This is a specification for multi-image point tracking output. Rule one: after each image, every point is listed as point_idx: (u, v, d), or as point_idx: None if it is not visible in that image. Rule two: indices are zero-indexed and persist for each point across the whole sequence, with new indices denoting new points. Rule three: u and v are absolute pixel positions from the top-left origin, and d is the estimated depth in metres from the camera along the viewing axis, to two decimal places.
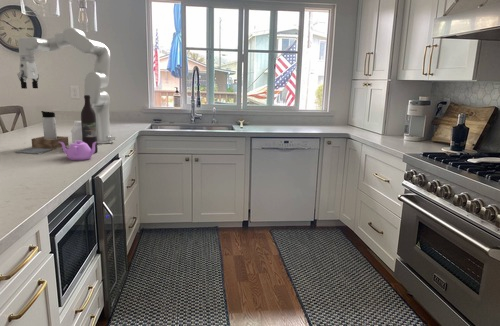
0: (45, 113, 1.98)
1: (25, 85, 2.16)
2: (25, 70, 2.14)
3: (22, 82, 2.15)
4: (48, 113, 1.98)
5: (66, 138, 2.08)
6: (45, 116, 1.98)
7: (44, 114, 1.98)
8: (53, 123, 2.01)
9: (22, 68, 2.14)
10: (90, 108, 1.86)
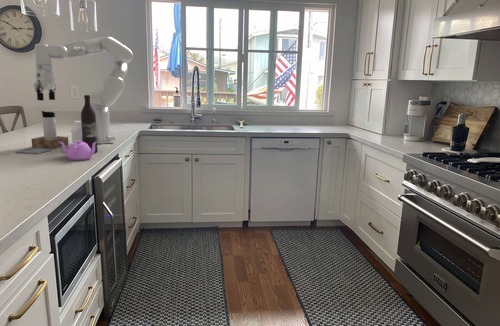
0: (45, 113, 1.98)
1: (42, 97, 1.94)
2: (42, 80, 1.92)
3: (38, 93, 1.93)
4: (48, 113, 1.98)
5: (66, 138, 2.08)
6: (45, 116, 1.98)
7: (44, 114, 1.98)
8: (53, 123, 2.01)
9: (39, 78, 1.92)
10: (90, 108, 1.86)
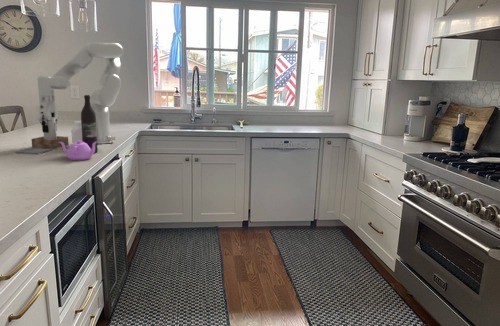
0: None
1: (47, 129, 1.99)
2: (45, 112, 1.96)
3: (44, 126, 1.98)
4: None
5: (66, 138, 2.08)
6: None
7: None
8: (53, 123, 2.01)
9: (42, 109, 1.96)
10: (90, 108, 1.86)
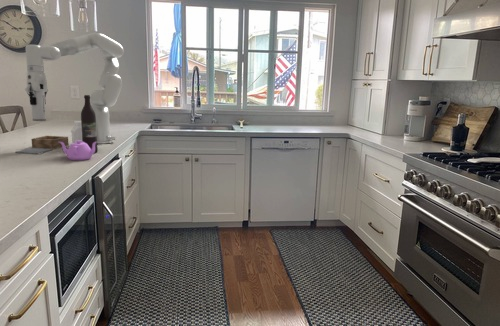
0: None
1: (34, 101, 1.88)
2: (33, 82, 1.85)
3: (31, 98, 1.87)
4: None
5: (66, 138, 2.08)
6: None
7: None
8: (41, 96, 1.90)
9: (30, 80, 1.84)
10: (90, 108, 1.86)
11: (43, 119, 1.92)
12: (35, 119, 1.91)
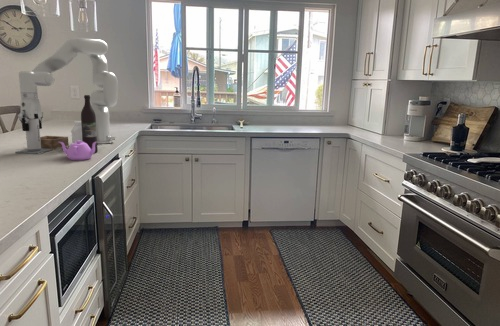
0: None
1: (27, 127, 1.82)
2: (27, 110, 1.81)
3: (23, 124, 1.81)
4: None
5: (66, 138, 2.08)
6: None
7: None
8: (36, 125, 1.86)
9: (23, 107, 1.80)
10: (90, 108, 1.86)
11: (38, 149, 1.89)
12: (30, 149, 1.87)
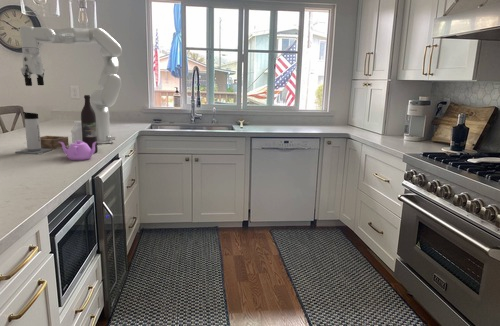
0: (27, 114, 1.83)
1: (30, 82, 1.86)
2: (29, 64, 1.84)
3: (26, 78, 1.85)
4: (30, 114, 1.83)
5: (66, 138, 2.08)
6: (28, 118, 1.83)
7: (26, 115, 1.83)
8: (36, 125, 1.86)
9: (26, 62, 1.84)
10: (90, 108, 1.86)
11: (38, 149, 1.89)
12: (30, 149, 1.87)
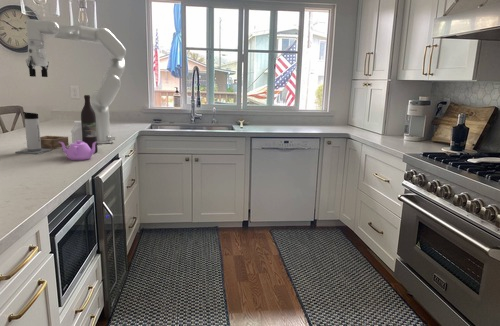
0: (27, 114, 1.83)
1: (34, 73, 1.94)
2: (34, 56, 1.92)
3: (31, 69, 1.93)
4: (30, 114, 1.83)
5: (66, 138, 2.08)
6: (28, 118, 1.83)
7: (26, 115, 1.83)
8: (36, 125, 1.86)
9: (31, 54, 1.92)
10: (90, 108, 1.86)
11: (38, 149, 1.89)
12: (30, 149, 1.87)
